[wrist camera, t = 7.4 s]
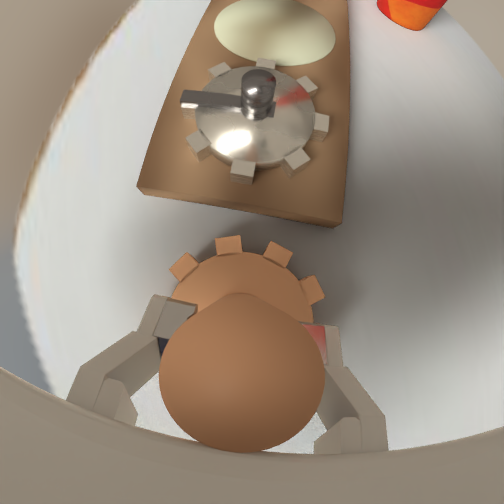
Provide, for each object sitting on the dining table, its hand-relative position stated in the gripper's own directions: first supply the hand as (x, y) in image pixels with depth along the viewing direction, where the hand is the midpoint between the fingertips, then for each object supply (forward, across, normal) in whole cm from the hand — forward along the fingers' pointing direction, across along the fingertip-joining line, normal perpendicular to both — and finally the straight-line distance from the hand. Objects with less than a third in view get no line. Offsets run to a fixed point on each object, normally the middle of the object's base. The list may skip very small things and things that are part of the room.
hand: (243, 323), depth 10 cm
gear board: (+18, +1, -9) cm, 20 cm away
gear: (+10, +1, -4) cm, 11 cm away
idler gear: (+3, 0, +4) cm, 5 cm away
